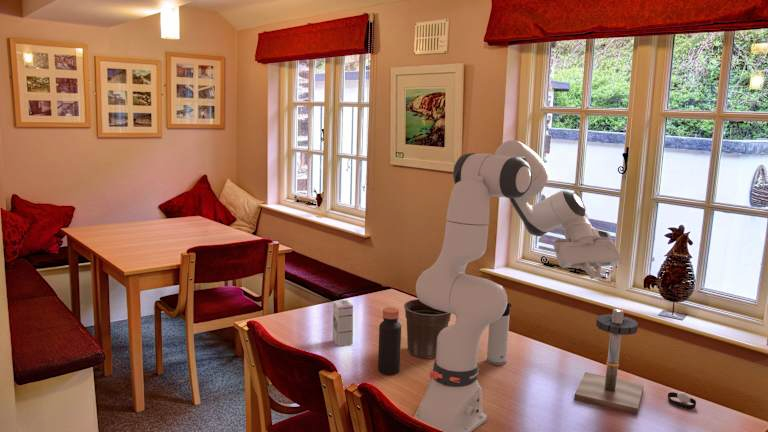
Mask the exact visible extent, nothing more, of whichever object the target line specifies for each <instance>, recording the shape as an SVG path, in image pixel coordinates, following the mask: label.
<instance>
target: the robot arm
mask: <svg viewBox="0 0 768 432" xmlns="http://www.w3.org/2000/svg"><path fill="white" fill-rule="evenodd" d="M548 170H549V169H548V167H547V165H546V163H545V162H544V161H543V159H542V158H541V157H540V156H539V155H538V153H536V152H535V151H534V150H533V149H532V148H530V147H529V146H527V145H525V143H522V142H521V141H518V140H515V139H514V140H513V139H511V140H506V141H504V142H503V143H501V144H500V145H499V146H498V147H497V149H496V150H495V151H494V153H477V152H471V153H464V154H461V156H459V157H458V159H457V161H456V162H455V164H454V166H453V170H452V171H453V172H452V177H453V182H454V186H453V187H452V191H451V194H450V197H449V202H448V207H447V210H446V211H447V213H446V219H445V220H446V221H445V229H444V230H445V231H444V238H443V242H442V247H441V251H440V254H439V256H438V257H437V259H436V261H435V262H434V263H433V264H432V265H431V266H430V267H429V268H427V269H426V270H424V271H422V272H421V273H420V275H419V277H418V278H417V280H416V282H415V283H416V284H415V295H416V298H417V299H419V301H420V302H422V303H424V304H426V305H427V306H429V307H431V308H433V309H437V310H440V311H444V312H448V313H451V315H452V314H453V315H455V317H456V319H455V324H451V325H448V327H445V328H444V329H442V330H441V331H440V333H439V334H438V337H437V349H436V358H435V359H434V363H433V365H432V370H430V372H429V378H430V380H429V382H428V384H427V387H426V390H425V391H424V395H423V398H422V400H421V401H420V404H419V405H418V407H417V410H416V412H415V413H414V415H413V417H415V418H417V419H419V420H421V421H422V422H424V423H427V424H429V425H431V426H434V427H436V428H438V429H441V430H443V431H445V432H473V431H475V430H476V429H477V428H479V427H480V426H481V425H483V424H484V423H485V422H486V421H487V420H488V416H487V414H486V413H485V412H483V388H482V386H481V385H480V383H479V381H478V378H479V372H480V371H479V370H480V369H479V364H478V355H479V348H480V347H479V346H480V340H481V337H482V335H483V333H484V331H485V330H486V329H487V327H489V324H491V323H492V322H494V321H496V320H498V319H499V318H500V317H501V316H502V315H503V314H504V312H505V310H506V307H507V303H508V295H507V292H506V289H505V288H504V286H503V285H501V284H499V283H497V282H494V281H493V280H490V279H488V278H484V277H480V276H475V275H470V274H466V268H467V265H468V264H469V263H471V262H473V261H476V260H479V259H480V258H482V256H484V255H485V253H486V250H487V247H488V246H487V245H488V236H489V227H490V226H489V225H490V214H491V213H490V212H491V208H490V207H491V204H490V202H491V201H490V200H491V197H496V198H507V199H509V200H510V201H509V202H510V203H511V205H512V206H513V209H514V210H515V211H516V214H518V216H519V217H520V219H521V221H522V223H523V225H524V228H525V229H526V231H527V232H528V233H529V234H530V235H532V236H535V237H543V236H544V235H546V234H547V233H549V232H550V231H552V230H554V229H556V228H559V227H561V228H562V229H563V235H564V238H563V239H560V238H558V239H556V240H555V241H553V243H552V245H553V248H554V250H555V256H556V260H557V264H558V265H559V267H561V268H563V269H566V268H567V269H568V268H582V269H583V271H584V272H585V273H587V275H589V279H591V280H595V279H597V280H598V279H600V278H601V277H602V273H601V272H602V271H601V269H602V267H614V266H617V264H618V263H620V261H621V260H622V256H621V254H620V251H619V249H618V247H617V246H616V243H615V242H614V241H612V240H611V238H612V236H611V234H610V232H608V231H605V230H601V229H599V228H595V227H593V226H592V223H591V222H590V221H589V218H588V213H587V211H586V206H585V204H584V201H583V200H582V198H581V197H580V195H579V194H578V193H577V192H575V191H573V190H569V189H563V190H560V191H558V192H556V193H553V194H552V195H550V196H548V197H546V198H545V199H542V200H540V201H538V202H537V203H533V204H530V203H529V201H530V200H532V199H533V198H534V197H535V196H536V195H539V193H540V192H542V190H544V188H545V186H546V185H547V182H548V178H549V171H548ZM592 268H593V269H594V270H593V269H592Z"/></svg>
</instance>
